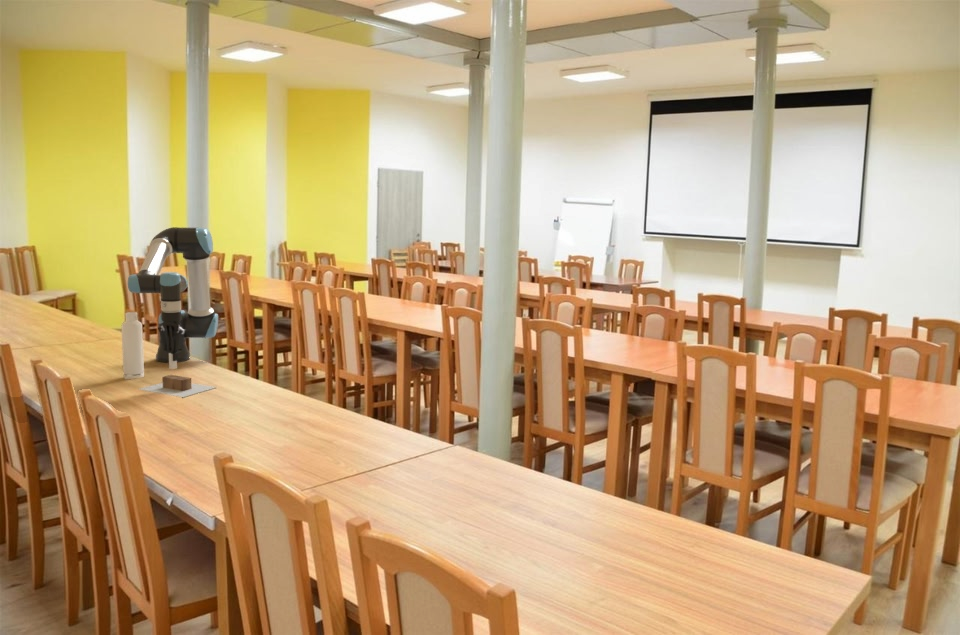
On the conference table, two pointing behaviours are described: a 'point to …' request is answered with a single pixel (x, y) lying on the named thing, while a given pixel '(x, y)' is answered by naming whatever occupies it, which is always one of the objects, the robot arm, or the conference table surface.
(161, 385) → the felt mat
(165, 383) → the walnut block
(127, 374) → the bottle
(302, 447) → the conference table surface
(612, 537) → the conference table surface
